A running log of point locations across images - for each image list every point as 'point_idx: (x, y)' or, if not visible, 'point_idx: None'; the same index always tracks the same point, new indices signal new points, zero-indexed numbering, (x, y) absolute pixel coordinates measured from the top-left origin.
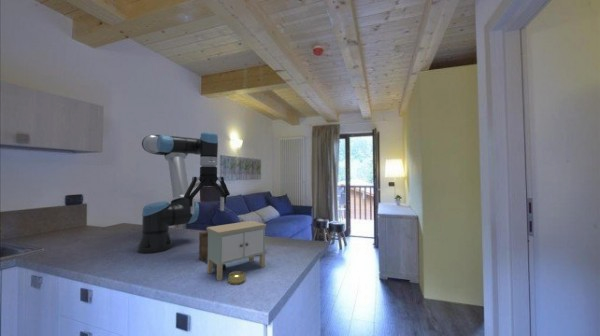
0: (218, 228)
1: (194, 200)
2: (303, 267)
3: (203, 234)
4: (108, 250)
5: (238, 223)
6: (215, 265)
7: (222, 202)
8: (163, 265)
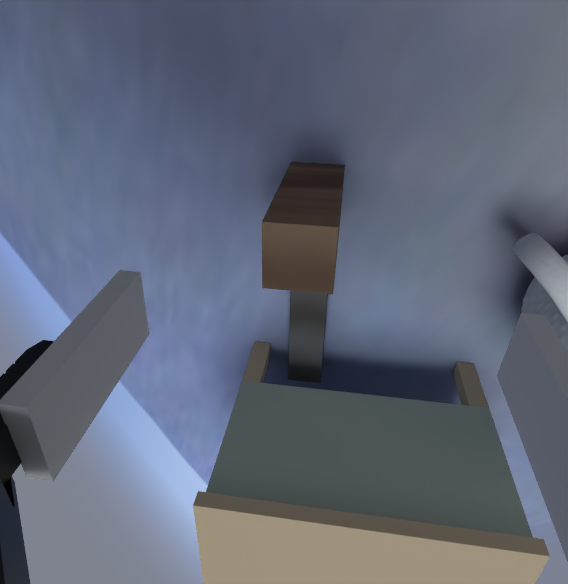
0: (238, 556)
1: (62, 465)
2: (536, 524)
3: (269, 285)
4: None
5: (403, 552)
6: (289, 351)
7: (536, 471)
8: (110, 121)
